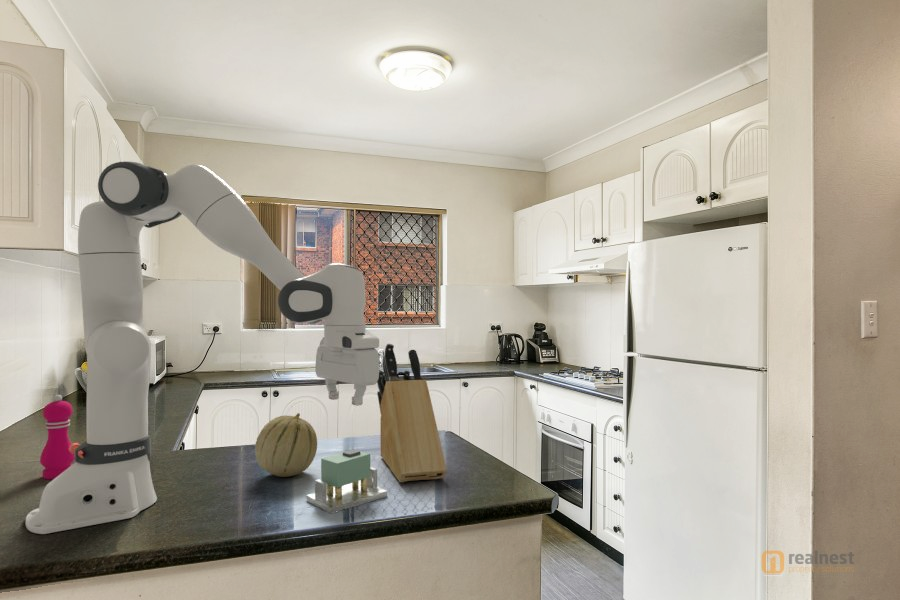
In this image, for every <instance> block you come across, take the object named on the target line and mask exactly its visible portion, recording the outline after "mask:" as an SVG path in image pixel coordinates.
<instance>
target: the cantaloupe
mask: <svg viewBox="0 0 900 600" xmlns="http://www.w3.org/2000/svg"><path fill="white" fill-rule="evenodd" d="M300 415H301V414H300V412H297V414H296V415H280V416H276V417H274V418H273V419H270V421H268V422H267V423H266V424H265V425H264V426H263V427H262V429H261V430H260V432H259V434H258V436H257V437H256V441H255V446H254V447H255V448H254V453H255V458H256V462H257V463H258V465H259V466H260V467H261V468H262V470H264V471H265V472H267V473H269V474H272V475H274V476H276V477H281V478H287V477H293V476H296V475H299V474H301V473H303V472H305V471H306V470H307V469H308V468H309V467H310V466H311V465H312V463H313V461H314V459H315V457H316V454H317V450H318V438H317V437H318V436H317V434H316V430H315V429H314V427H313V426H312V424H311V423H310V422H308V421H307V420H305V419H303V418H301V417H300Z"/></svg>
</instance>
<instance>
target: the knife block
mask: <svg viewBox="0 0 900 600" xmlns="http://www.w3.org/2000/svg"><path fill="white" fill-rule="evenodd" d="M394 347H395V346H394V344H391V343H387V344H386V346H385V348H384V354H383V358H382V370H383V371H380V370H379V378H378V381H377V383H376V384H377V388H378V390H379V391H377V394H376V395H377V398H378V405H379V411H380V412H379V413H380V457H381V458H382V459H383V461H384V462H385V463H386V465H387V466H388V467H389V469H390V470H391V472H392V474H393V475H394V477H395V478H396V479H397V480H398V482H399V483H406V482H410V481H422V480H424V481H425V480H439V479H444V478H445V476H446V474H447V472H448V470H447V465H446V460H445V456H444V453H443V449H442V448H443V447H442V444H441V438H440V433H439V430H438V425H437V421H436V416H435V411H434V408H433V404H432V399H431V394H430V390H429V387H428V382H427V380H426V379H423V378H422V376H421V367H420V366H421V364H420V359H419V357H418V353H417V350H415V349H410V350H409V351H408V359H409V363H410V368H411V371H409V370H404V372H403V371H398V363H397V357H396V355H395V351H394ZM411 372H412V375H413V377H414V378H413V379H412V378H411V376H410V375H411ZM400 376H402V378H400Z"/></svg>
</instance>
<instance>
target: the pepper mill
mask: <svg viewBox="0 0 900 600" xmlns="http://www.w3.org/2000/svg"><path fill="white" fill-rule="evenodd" d="M72 414H73V406H72V404H71V403H69V402H68V401H66V400H63V396H62V395H61V394H56V395H54V396H53V401H51V402H49V403H47V404H45V406H44V408H43V410H42V416H43V418H44V419H45V420H46V422H45V429H47V432H48V433H47V434H48V435H47V440H46V442H45V445H44V447H43V449H42V451H41V454H40V456H39V458H40V459H39V462H40V464H41V465H42V466H43V467H44V469H43V470H42V478H43V479H45V480H53V479H55V478H56V477H57V476H59V475H60V474H61V473H62V472H64V471H65V470H66V469H67V468H69V467H70V466H71V465H72V464H73V462H75V455H74V454H72V453H71V452H70V451H69V448H70V447H69V446H72V445H71V444H72V442H71V441H70V438H69V431H68V430H69V426H71V419H69V418H70V417H71V416H72Z"/></svg>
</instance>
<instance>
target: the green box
mask: <svg viewBox="0 0 900 600" xmlns="http://www.w3.org/2000/svg"><path fill="white" fill-rule="evenodd" d="M320 460H321V461H320V463H321V464H320V465H321V467H320V468H321V471H320V472H321V479H320V480H322V481H324V482H326V483H327V484H329V485H332V486H333V488H334V487H337V488H338V487H341V486H344V485H347V484H350V483H353V482H356V481H360V480H362V479H365V478H368V477H371V474H370V467H371V453H368V452H365V451H361V450H358V449H351V450H347V451H344V452H341V453H340V452H339V453H337V454H333V455H330V456H325V457H322V458H321V459H320Z"/></svg>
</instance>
